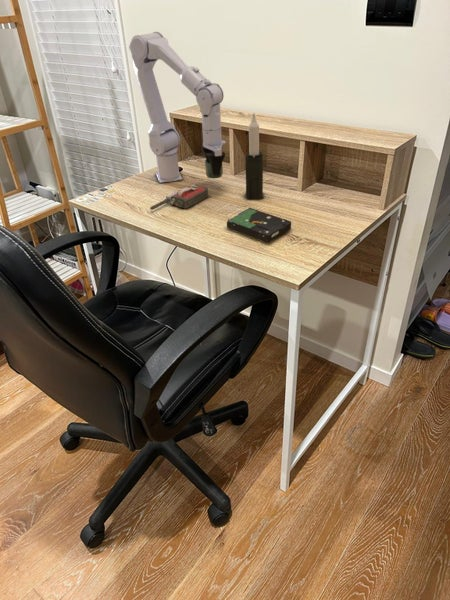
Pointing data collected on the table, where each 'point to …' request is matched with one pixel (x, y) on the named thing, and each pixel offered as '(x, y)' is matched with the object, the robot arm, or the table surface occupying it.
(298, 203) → the table surface
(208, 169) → the green cup
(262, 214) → the disk drive
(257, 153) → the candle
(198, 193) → the walkie-talkie
